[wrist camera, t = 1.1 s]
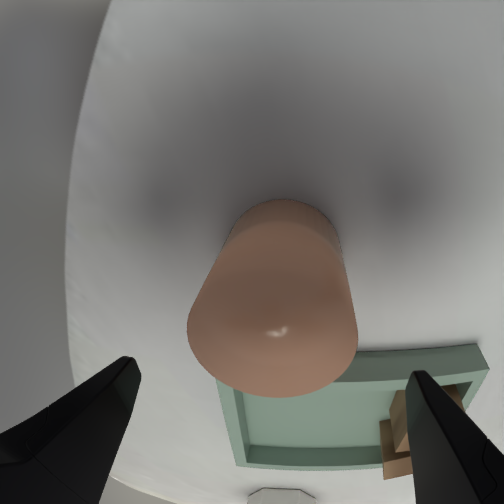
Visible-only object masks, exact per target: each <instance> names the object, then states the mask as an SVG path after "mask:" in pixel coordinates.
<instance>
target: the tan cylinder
mask: <svg viewBox="0 0 504 504" xmlns="http://www.w3.org/2000/svg"><path fill="white" fill-rule="evenodd" d="M187 335H188V341H189V344H190V347H191V349H192V351H193V353H194V355H195V357H196V358H197V360H198V361H199V363H200V364H201V365H202V366H203V367H204V368H205V369H206V370H207V371H208V372H209V373H210V374H211V375H212V376H214V377H215V378H216V379H218V380H219V381H221V382H222V383H224V384H226V385H228V386H230V387H232V388H234V389H236V390H239V391H242V392H244V393H248V394H252V395H256V396H262V397H271V398H286V397H295V396H301V395H305V394H308V393H312V392H314V391H317V390H319V389H321V388H323V387H325V386H327V385H329V384H330V383H332V382H333V381H335V380H336V379H337V378H338V377H340V376H341V375H342V374H343V373H344V371H345V370H346V369H347V368H348V366H349V365H350V364H351V362H352V360H353V358H354V356H355V353H356V349H357V345H358V330H357V324H356V319H355V313H354V308H353V303H352V298H351V293H350V288H349V283H348V278H347V273H346V269H345V264H344V260H343V255H342V251H341V247H340V242H339V239H338V236H337V233H336V231H335V229H334V227H333V226H332V224H331V223H330V221H329V220H328V219H327V218H326V217H325V216H324V215H323V214H322V213H321V212H319V211H318V210H316V209H315V208H313V207H312V206H309V205H307V204H305V203H302V202H299V201H294V200H286V199H279V200H271V201H266V202H263V203H260V204H258V205H256V206H254V207H252V208H251V209H249V210H248V211H246V212H245V213H244V214H243V215H242V216H241V217H240V218H239V219H238V220H237V222H236V223H235V225H234V226H233V228H232V230H231V232H230V234H229V236H228V238H227V240H226V242H225V243H224V245H223V247H222V249H221V251H220V253H219V255H218V257H217V259H216V261H215V263H214V265H213V267H212V269H211V270H210V272H209V274H208V276H207V278H206V280H205V282H204V284H203V286H202V288H201V290H200V292H199V294H198V296H197V298H196V300H195V302H194V304H193V306H192V308H191V311H190V313H189V316H188V321H187Z"/></svg>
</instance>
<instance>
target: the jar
mask: <svg viewBox="0 0 504 504" xmlns="http://www.w3.org/2000/svg"><path fill="white" fill-rule="evenodd" d="M247 504H316V499H315V498H313V497H311V496H310V495H308V494H306V493H304V492H302V491H301V490H294V489H270V488H263V489H261V490H259V491H257V492H256V493H254V494H252V495H250V496H249V497H248V502H247Z"/></svg>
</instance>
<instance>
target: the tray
mask: <svg viewBox="0 0 504 504" xmlns="http://www.w3.org/2000/svg"><path fill="white" fill-rule="evenodd" d="M414 370H425V371H427V372H428V373H429V374H430V376H431V377H432V378H433V379H434V380H435V381H436V382H437V383H438V384H439V385H440V386H442V385H450V384H456V387H457V389H458V392H459V395H460V398H461V401H462V404H463V407H464V410H465V411H466V409H467V407H468V406H469V404H470V403H471V401H472V399H473V398H474V396H475V394H476V393H477V391H478V389H479V387H480V386H481V384H482V382H483V380H484V379H485V377H486V375H487V373H488V371H489V367H488V365H487V362H486V360H485V358H484V356H483V354H482V352H481V350H480V349H479V347H478V345H477V344H472V345H463V346H453V347H442V348H430V349H417V350H400V351H378V352H356V353H355V356H354V358H353V360H352V362H351V364H350V365H349V366H348V368H347V369H346V370H345V371H344V373H343V374H342V375H341V376H340V377H338V378H337V379H336V380H335V381H333V382H332V383H330V384H329V385H327V386H325V387H323V388H321V389H319V390H317V391H314V392H312V393H308V394H305V395H301V396H295V397H286V398H271V397H262V396H256V395H252V394H248V393H244V392H242V391H239V390H236V389H234V388H232V387H230V386H228V385H226V384H224V383H222V382H221V381H219V380H218V379H216V378H215V379H216V383H217V388H218V392H219V397H220V401H221V405H222V410H223V414H224V418H225V422H226V427H227V431H228V435H229V439H230V443H231V447H232V451H233V454H234V458H235V462H236V466H241V467H250V468H262V469H276V470H299V471H335V470H358V469H372V468H383V465H382V454H381V444H380V428H379V421H382V420H387V419H390V413H389V408H390V406H391V403H392V401H393V398H394V396H395V393H396V391H397V390H404V389H406V385H407V383H408V380H409V378H410V375H411V373H412V371H414Z"/></svg>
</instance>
